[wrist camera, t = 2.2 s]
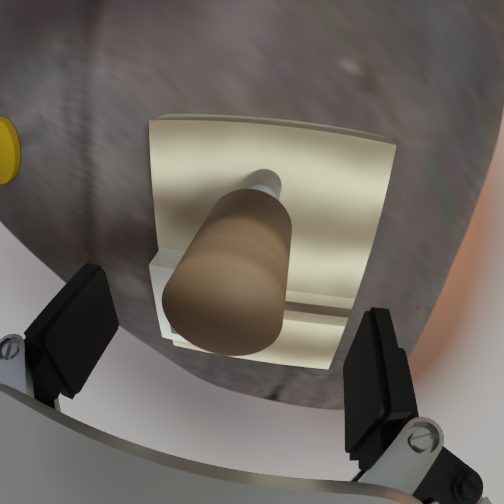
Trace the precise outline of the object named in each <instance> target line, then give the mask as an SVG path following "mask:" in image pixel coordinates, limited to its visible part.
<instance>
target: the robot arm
mask: <svg viewBox="0 0 504 504" xmlns="http://www.w3.org/2000/svg"><path fill="white" fill-rule="evenodd" d="M118 326H119V321H118V318H117V314H116V311H115V307H114V304H113V300H112V296H111V293H110V289H109V285H108V281H107V277H106V273H105V271H104V270H103V269H102V267H101V266H99V265H95V264H90V263H86V264H85V265H84V266H83V267H82V268H81V269H80V270H79V271H78V272H77V273H76V274H75V275H74V276H73V277H72V278H71V279H70V280H69V282H68V283H67V284H66V285H65V286H64V287H63V288H62V289H61V290H60V291H59V293H58V294H57V295H56V296H55V297H54V298H53V299H52V300H51V301H50V303H49V304H48V305H47V306H46V307H45V309H44V310H43V311H42V312H41V313H40V314H39V315H38V317H37V318H36V319H35V320H34V321H33V323H32V324H31V325H30V326H29V327H28V329H27V330H26V331H25V332H24V334H25V336H26V338H25V339H24V340H23V338H22V337H21V336H20V335H17V334H9V335H7V336H4V337H3V338H2V339H0V504H491V502H490V501H489V499H488V498H487V497H485V498H483V497H482V492H483V482H482V479H481V477H480V476H479V474H478V473H477V472H475V471H474V470H473V469H472V468H470V467H469V466H468V465H466V464H465V463H464V462H462V461H461V460H460V459H459V458H457V457H456V456H455V455H454V454H452V453H451V452H450V451H448V450H447V449H446V448H445V447H444V446H443V444H444V435H443V431H442V429H441V428H440V426H439V425H438V424H437V423H436V422H435V421H434V420H432V419H430V418H425V417H419V415H418V410H417V404H416V399H415V393H414V388H413V384H412V379H411V374H410V370H409V365H408V361H407V357H406V353H405V350H404V349H403V348H398V344H397V339H396V335H395V331H394V327H393V323H392V319H391V316H390V312H389V310H388V309H384V308H375V307H372V308H371V309H370V311H365V313H364V315H363V318H362V320H361V323H360V326H359V328H358V331H357V333H356V335H355V338H354V340H353V343H352V345H351V347H350V350H349V352H348V355H347V357H346V359H345V362H344V366H343V378H344V406H345V451H346V453H350V460H359V468H360V469H361V470H360V471H359V472H358V473H357V474H356V475H355V476H354V477H353V478H352V479H351V480H350V481H333V480H316V479H303V478H292V477H283V476H273V475H266V474H258V473H252V472H245V471H239V470H234V469H228V468H223V467H218V466H214V465H209V464H204V463H200V462H196V461H192V460H188V459H184V458H180V457H177V456H173V455H169V454H166V453H163V452H159V451H156V450H153V449H150V448H147V447H143V446H141V445H138V444H135V443H132V442H129V441H126V440H124V439H121V438H118V437H116V436H113V435H111V434H108V433H106V432H103V431H101V430H98V429H96V428H94V427H91V426H89V425H87V424H84V423H82V422H80V421H77V420H76V419H73V418H71V417H69V416H67V415H65V414H63V413H61V411H60V405H59V400H58V396H59V394H60V393H61V394H62V395H64V396H66V397H68V398H70V399H73V398H74V396H75V394H77V393H79V392H80V391H81V389H82V387H83V386H84V384H85V382H86V381H87V379H88V377H89V375H90V374H91V372H92V370H93V369H94V367H95V365H96V364H97V362H98V360H99V359H100V357H101V356H102V354H103V352H104V351H105V349H106V347H107V346H108V344H109V343H110V341H111V339H112V338H113V336H114V335H115V333H116V331H117V330H118Z"/></svg>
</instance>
